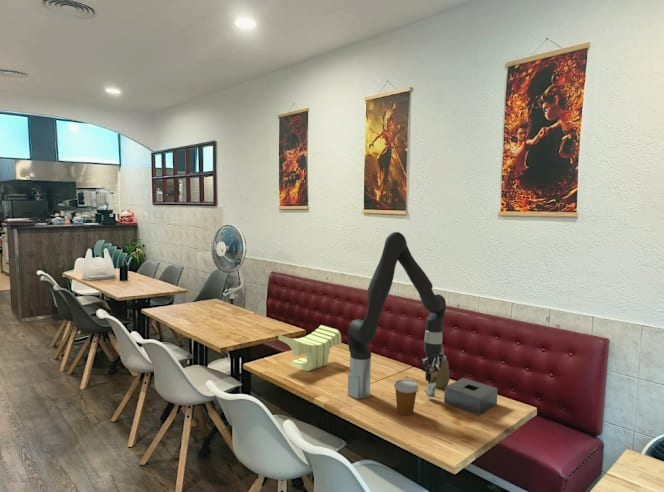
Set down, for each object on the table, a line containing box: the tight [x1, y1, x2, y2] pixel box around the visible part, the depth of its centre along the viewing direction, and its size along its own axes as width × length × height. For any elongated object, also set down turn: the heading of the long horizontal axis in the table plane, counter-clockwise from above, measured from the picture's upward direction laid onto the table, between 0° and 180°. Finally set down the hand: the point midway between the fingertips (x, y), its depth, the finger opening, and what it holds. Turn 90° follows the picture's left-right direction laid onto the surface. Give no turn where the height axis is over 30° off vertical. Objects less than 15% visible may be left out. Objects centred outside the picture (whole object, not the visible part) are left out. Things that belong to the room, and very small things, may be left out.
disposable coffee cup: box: [393, 378, 419, 416], centre depth 176 cm, size 10×10×12 cm
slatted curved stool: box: [277, 324, 342, 372], centre depth 228 cm, size 30×16×18 cm, turn 135°
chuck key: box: [426, 368, 438, 398], centre depth 189 cm, size 5×5×11 cm
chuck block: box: [443, 377, 499, 416], centre depth 186 cm, size 16×16×7 cm
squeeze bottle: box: [435, 348, 450, 389], centre depth 204 cm, size 8×8×18 cm
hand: (431, 379), depth 189 cm, fingers closed on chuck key, 4 cm apart
